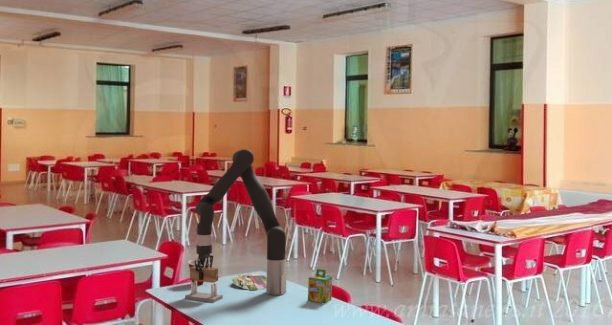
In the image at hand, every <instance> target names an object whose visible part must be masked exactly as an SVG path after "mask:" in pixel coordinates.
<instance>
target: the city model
mask: <svg viewBox="0 0 612 325" xmlns="http://www.w3.org/2000/svg"><path fill="white" fill-rule="evenodd" d="M266 279H267V275H262V274H259V273H242V274H237V275H236V276H234V278H232V279H231V282H232V283H233V285H235V286H237V287H239V288H241V289H244V290H249V291H258V290H263V289H266Z"/></svg>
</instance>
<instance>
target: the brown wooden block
mask: <svg viewBox="0 0 612 325" xmlns="http://www.w3.org/2000/svg"><path fill="white" fill-rule="evenodd" d="M201 270H202V267H201ZM203 272H204V276H203V280H199V272H196V268H195V266H194V267H191V268H189V281H191V282H192V281H201V282H204V283H213V284H214V283H216V282H219V268H218V267H212V268H208V267H205V268H204V271H203Z"/></svg>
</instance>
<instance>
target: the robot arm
mask: <svg viewBox="0 0 612 325" xmlns="http://www.w3.org/2000/svg"><path fill="white" fill-rule="evenodd" d="M254 156H255V155H254V154H253V152H252V151H251V150H250V149H246V148H245V149H243V148H242V149H240V150H237V151H235V152H234V154H233V155H232V157H231V158H232V164H231V166H230V167H229V168H228V170H226V172H224V174H223V175H222V176H221V177H220V178H219V179H218V180H217V181H216V182H215V183H214V185H212V187H211V188H210V190H209V191H208V193H207V194H205V195H204V196H203V197H202V198H201V199H200V200H199V201H198V203H196V205H195V213H196V214H197V216H199V222H198V223H197V225H196V240H195V242H196V244H195V245H196V246H195V247H196V250H195V252H196V254H197V255H198V256H197V259H194V260H195V261H194V262H195V268H196V272H199V280H203V276H204V272H203V271H204V268H205V267H208V268H213V263H214V262H213V261H214V255H211V254H212V253H213V227H212V226H213V222H214V216H215V209H214V208H215V207H214V206H215V205H216V204H217V203H220V202H221V201H222V199H223V198H224V197H225V196H226V194H227V193H228V191H229V190H230V189H231V187H232V186H233V185H234V184H235V182H236V181H237V180H238V178H239V177H240V178H241V180H242V182H243V185H244V187H245V190H246V192H247V195H248V198H249V200H250V202H251V205H252V207H253V209H254V211H255V212H256V213H257V216H258V217H259V219H260V220H261V222H262V224H263V228H264V230H265V234H266V238H267V239H266V276H267V279H266V288H265V289H266V291H265V292H266V294H267V295H273V296H275V295H276V296H278V295H279V296H280V295H281V296H282V295H284V294H285V293H287V273H286V253H287V252H286V250H287V249H286V248H287V246H286V244H287V236H286V232H285V230H284V228H283V227H282V225H281V224H280V221H279V220H278V218H277V216H276V214H275V210H274V207H273V204H272V200H271V198H270V195H269V193H268V192H267V189H266V188H265V186H264V184H263V183H262V181H261V180H260V179H259V178H258V176H257V175H256V173H255V171H254V168H253V166H252V164H253V163H254V159H255V157H254ZM201 265H203V266H201ZM201 267H202V270H201Z"/></svg>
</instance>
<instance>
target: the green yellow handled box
mask: <svg viewBox="0 0 612 325" xmlns="http://www.w3.org/2000/svg"><path fill="white" fill-rule="evenodd" d="M320 273H322V274H320ZM326 274H327V271H326V269H320V268H317V269H316V273H315V274H313V275H311V276H309V277H308V287H307V288H308V289H307V301H308V302H312V301H313V302H314V303H320V304H326V303H327V302H329V301H330V300H332V297H333V296H332V295H333V294H332V291H333V276H331V275H326Z"/></svg>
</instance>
